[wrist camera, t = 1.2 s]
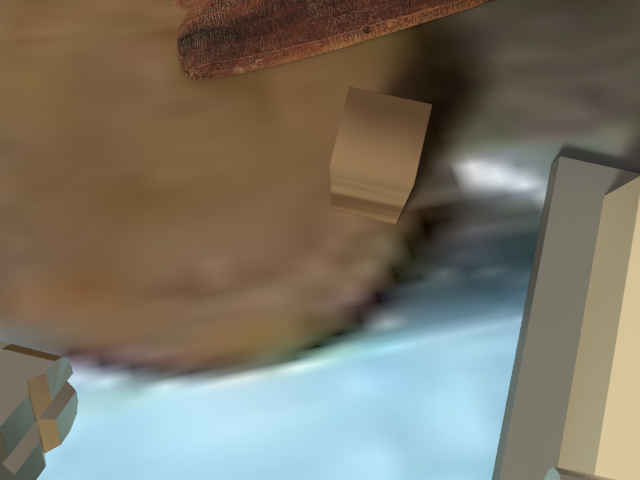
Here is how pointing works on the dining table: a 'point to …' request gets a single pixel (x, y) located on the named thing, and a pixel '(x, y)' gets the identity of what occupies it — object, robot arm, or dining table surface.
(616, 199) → the stand
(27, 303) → the dining table surface
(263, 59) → the wooden tablet
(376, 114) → the walnut pillar
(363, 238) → the dining table surface
